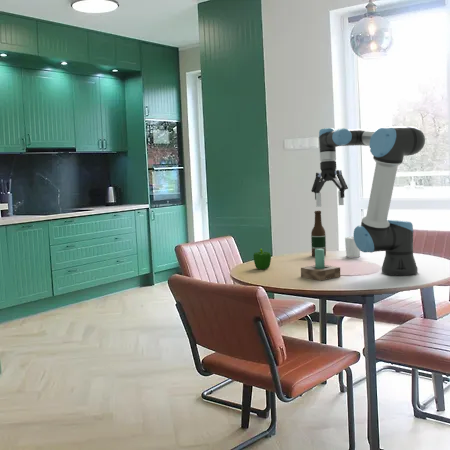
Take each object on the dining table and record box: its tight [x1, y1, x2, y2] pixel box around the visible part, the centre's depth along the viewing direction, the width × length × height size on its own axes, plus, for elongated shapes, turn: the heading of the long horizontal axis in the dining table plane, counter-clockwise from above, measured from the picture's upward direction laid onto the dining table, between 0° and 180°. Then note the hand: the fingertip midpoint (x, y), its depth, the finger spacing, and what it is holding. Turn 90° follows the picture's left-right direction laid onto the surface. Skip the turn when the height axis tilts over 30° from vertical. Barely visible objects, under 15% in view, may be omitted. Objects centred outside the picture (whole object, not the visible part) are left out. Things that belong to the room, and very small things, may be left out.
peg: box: [314, 249, 326, 269], centre depth 255 cm, size 4×4×12 cm
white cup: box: [344, 236, 361, 258], centre depth 304 cm, size 8×8×10 cm
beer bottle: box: [310, 210, 327, 258], centre depth 310 cm, size 8×8×24 cm
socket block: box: [300, 264, 341, 282], centre depth 256 cm, size 12×12×4 cm
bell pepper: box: [253, 248, 272, 270], centre depth 280 cm, size 8×8×10 cm
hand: (329, 205), depth 279 cm, fingers open, 13 cm apart
